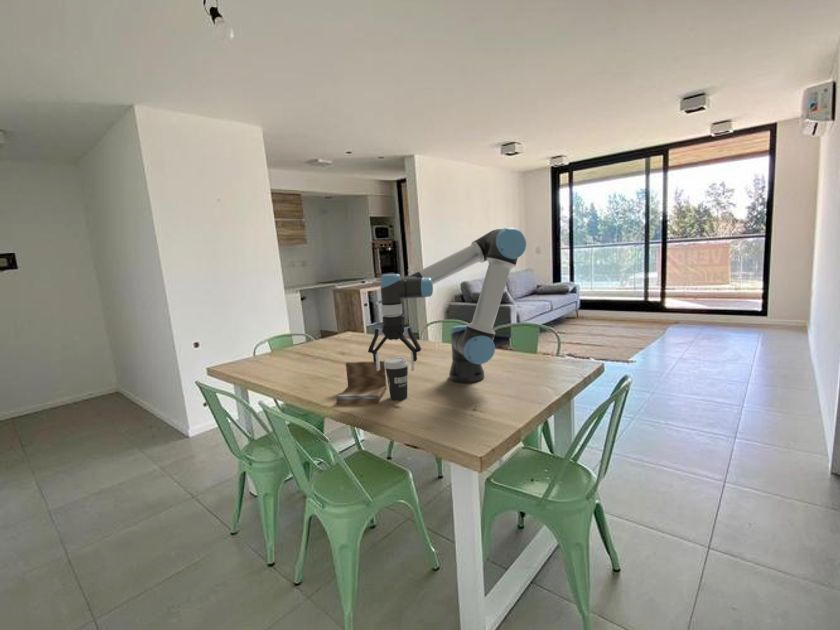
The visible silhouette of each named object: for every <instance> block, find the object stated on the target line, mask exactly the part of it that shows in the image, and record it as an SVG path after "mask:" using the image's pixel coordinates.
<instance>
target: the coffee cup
mask: <svg viewBox="0 0 840 630" xmlns="http://www.w3.org/2000/svg"><path fill="white" fill-rule="evenodd" d="M409 365H410V363H409V361H408V360H407V358H405V357H393V358H392V357H391V358H389V359H386V360H385V365H384V367H385V373H386V381H387V384H388V386H387V387H388V389H389V396H390V400H391V401H397V402H398V401H403V400H406V399H408V373H409V372H408V370H409Z"/></svg>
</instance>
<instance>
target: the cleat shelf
mask: <svg viewBox="0 0 840 630" xmlns="http://www.w3.org/2000/svg"><path fill="white" fill-rule="evenodd" d="M385 363H386V360H380V370H379V371H377V367H376V362H374V361H373V360H371V361H346V362H345V368H346V379H347V387H346V388H345V389H344V390H343V391H342V393H341V394H336V396H335V397H336V405H371V404H373V405H374V404H375V405H378V404H379V403H380V401H381V399H382V398H383V396H384V395H385V393H386V391H387V389H388V386H387V374H386V368H385V367H384V365H385Z"/></svg>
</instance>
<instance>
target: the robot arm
mask: <svg viewBox="0 0 840 630" xmlns="http://www.w3.org/2000/svg"><path fill="white" fill-rule="evenodd" d="M526 249H527V240H526V237H525V235H524V234H523V232H522V231H521V230H520V229H517V228H516V227H509V226H508V227H507V226H506V227H503V228H498V229H497V228H496V229H493V230H490V231H489V232H487V233H485V234H484V235H482V236H481V237H480V236H479V238H477V239H475V240H473V241H472V242H471V243H470V245H468V246H467V247H465V248H462V249H461V250H459V251H456V252H455V253H453V254H451V255H449V256H447V257H445V258H443V259H441V260H439V261H436V262H435V263H433V264H431V265H428V266H427V267H425V268H423V269H420V270H418V271H417V272H414V273H412V274H410V275H405V276H404V277H403V278H401V275H400V273H388V274H382V275H380V297H381V312H382V313H381V315H383V317H382V328H379V327H376V328H375V329H374V336H373V337H372V339H371V342H370V345H369V347H368V350H367V352H368V353H370V354H372V356H373V360H372V361H374V362H376V367H377V371H379V370H380V361H381V358H380V352H378V351H380V348H381V347H382V346H383V345H384V343H386V341H387V340H389V341H393V340H395V341H397V340H399V341H401V342H403V344H404V345H405V346H406V347H407V348H408V349H409V351H411V353H410V362H411V371H414V370H415V369H416V368H415V367H416V366H415V362H417V360H418V354H417V353H419V352H421V351H422V347H421V345H420V344H419V341H418V340H417V338H416V336H415V335H414V333H413V329H412V327H411V326H408V327H404V318H403V315H402V314H403V303H402V302H403V301H402V300H403V299H404V300H405V299H418V298H419V299H420V298H424V299H425V298H428V297H432V296H433V291H434V285H435V284H436V283H439V282H441V281H443V280H445V279H447V278H449V277H450V276H451V277H452V276H453V275H455V274H457V273H459V272H461V271H464V270H465V269H467V268H469V267H471V266H474V265H475V264H477V263H485V262H486V261H487V262H488V265H487V269H486V273H485V276H484V280H483V282H482V285H481V286H482V287H481V290H480V294H479V297H478V301H477V302H476V303H477V304H476V307H475V310H474V313H473V317H472V321H471V322H470V323H468V324H462V325H455V326H452V327H451V329H450V338H451V340H450V342H451V343H450V344H451V356H452V362H451V365H450V369H449V373H448V376H449V377H448V378H449V380H450V381H452V382H456V383H460V384H461V383H466V384H467V383H469V384H470V383H476V382H480V381H482V380H484V379H485V370H484V368H483V365H484V364H486V363H487V362H489V361H490V360H492V359H493V356H494V355H495V352H496V346H495V342H494V340H495V335H496V331H495V330H494V326H495V322H496V319H497V314H498V311H499V309H500V305H501V302H502V298H503V295H504V292H505V289H506V286H507V285H506V284H507V282H508V278H509V275H510V271H511V270H512V269H513V268H515V267H516V265H517V262H518V260H519V258H520V257H522V255H523V254H524V253H525V251H526ZM381 333H382V334H383V335H384V336H383V338H382V339H381V341H379V343H378V344H377V346H376V347H375V345H376V342H377V341H378V339H379V337H380V334H381ZM404 333H406V334H408V337H409V339H410V340H411V342H412V343H413V344H412V343H411V342H410V340H409V339H408V338H406V336H405V335H404ZM374 347H375V349H374Z"/></svg>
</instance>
